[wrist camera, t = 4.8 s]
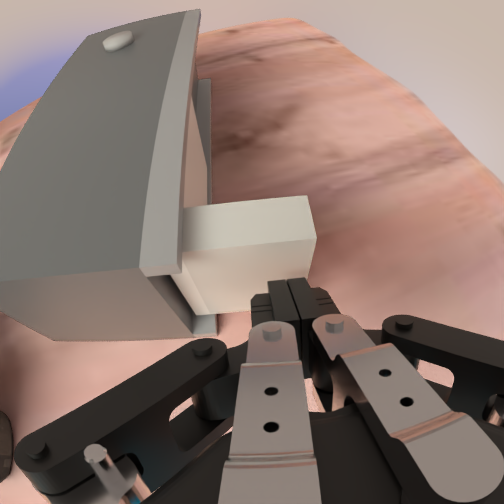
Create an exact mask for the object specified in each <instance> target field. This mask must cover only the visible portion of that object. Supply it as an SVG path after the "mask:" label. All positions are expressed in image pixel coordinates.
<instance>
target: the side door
mask: <svg viewBox="0 0 504 504" xmlns="http://www.w3.org/2000/svg"><path fill="white" fill-rule="evenodd" d="M316 240H317V236H316V232H315V227H314V223H313V218H312V214H311V210H310V206H309V202H308V197H307V195H304V196H292V197H281V198H270V199H260V200H250V201H240V202H231V203H222V204H213V205H207V165H206V161H205V156H204V152H203V147H202V143H201V138H200V134H199V129H198V125H197V120H196V115H195V111H194V106H193V101H192V97H191V103H190V114H189V125H188V138H187V152H186V168H185V186H184V208H183V238H182V273H180V274H170V275H171V277H172V278H173V280H174V282H175V283H176V285H177V286H178V288H179V289H180V291H181V293H182V294H183V296H184V297H185V299H186V300H187V302H188V303H189V305H190V306H191V308H192V310H193V311H194V313H195V314H196V315H208V314H220V313H231V312H242V311H251V302H250V300H251V299H252V298H253V296H254V295H255V294H262V293H268V286H267V281H273V280H282V279H286V280H287V279H291V278H301V277H305V278H306V280H307V279H308V275H309V270H310V266H311V262H312V258H313V254H314V249H315V245H316Z"/></svg>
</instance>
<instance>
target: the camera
mask: <svg viewBox="0 0 504 504" xmlns="http://www.w3.org/2000/svg"><path fill="white" fill-rule="evenodd" d="M12 454H13V436H12V429H11V425H10V421H9V419H8V417H7V416H6V415H5V414H4V413H3V412H2V411H0V483H1V482H2V481H3V480H4V479H6V478H7V476H8V474H9V472H10V466H11V460H12Z"/></svg>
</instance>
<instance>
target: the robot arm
mask: <svg viewBox="0 0 504 504" xmlns="http://www.w3.org/2000/svg"><path fill="white" fill-rule="evenodd" d="M267 286H268V293H262V294H255V295H254V296H253V298H252V299H251V300H250V302H251V320H252V329H251V330H250V333H249V340H248V341H246V342H245V343H243V344H241V345H239V346H236V347H232V348H229V349H227V347H226V345H225V343H224V342H222V341H220V340H218V339H213V338H203V339H197V340H194V341H191V342H189V343H187V344H185V345H184V346H182V347H181V348H179V349H177V350H176V351H174V352H172V353H171V354H169V355H167V356H166V357H164V358H163V359H161V360H159V361H158V362H156V363H154V364H153V365H151V366H149V367H148V368H146V369H144V370H143V371H141V372H139V373H137V374H136V375H134V376H132V377H131V378H129V379H127V380H126V381H124V382H122V383H121V384H119V385H117V386H115V387H114V388H112V389H110V390H108V391H107V392H105V393H103V394H101V395H100V396H98V397H96V398H94V399H93V400H91V401H89V402H87V403H86V404H84V405H82V406H80V407H79V408H77V409H75V410H73V411H71V412H70V413H68V414H66V415H64V416H62V417H60V418H59V419H57V420H55V421H53V422H51V423H49V424H48V425H46V426H44V427H42V428H40V429H38V430H36V431H35V432H33V433H31V434H29V435H27V436H26V437H24V438H23V439H22V440H21V441H20V442H19V443H18V444H17V446H16V448H15V451H14V460H15V462H16V464H17V466H18V467H19V468H20V469H21V471H22V472H23V473H24V474H25V475H26V477H27V478H28V479H29V480H30V481H31V483H32V485H33V487H34V488H35V489H36V490H37V491H38V493H39V494H40V495H41V496H42V497H43V498H44V499H45V500H46V501H47V502H48V503H49V504H504V341H502V340H499V339H495V338H491V337H487V336H484V335H480V334H476V333H472V332H469V331H465V330H461V329H458V328H454V327H450V326H447V325H443V324H439V323H436V322H432V321H429V320H425V319H421V318H418V317H414V316H410V315H394V316H391V317H388V318H387V319H385V320H384V321H383V324H382V330H364V329H362V328H361V327H360V326H359V324H358V323H357V322H356V321H355V320H354V319H353V318H351V317H349V316H347V315H342V314H341V313H340V312H339V310H338V308H337V307H336V305H335V303H334V302H333V300H332V299H331V297H330V295H329V294H328V292H327V291H325V290H323V289H321V288H320V287H316V288H310V286H309V284H308V282H307V280H306V278H305V277H301V278H291V279H287V280H286V279H282V280H273V281H267ZM420 359H421V360H424V361H427V362H430V363H433V364H436V365H439V366H442V367H445V368H447V369H449V370H450V371H451V372H452V373H453V375H454V383H453V386H452V388H450V387H447V386H444V385H441V384H438V383H435V382H432V381H429V380H426V379H424V378H423V377H422V376H421V375H420V374H419V373H418V372H417V370H418V365H419V360H420ZM307 378H312V381H313V396H314V399H315V401H316V403H317V406H318V408H319V411H320V412H308V405H307V397H306V390H305V383H304V379H307ZM496 394H497V395H496ZM190 397H191V398H192V402H193V404H192V405H191V406H190V407H188V408H187V409H186V410H184V411H183V412H182V413H180V414H179V415H178V416H176V417H175V418H173V419H172V420H171V421H169V418H170V415H171V413H172V411H173V410H174V409H175V408H176V407H177V406H179V405H180V404H182V403H183V402H184V401H186V400H187V399H188V398H190ZM232 426H233V430H232V431H231V432H229V433H227V434H225V435H223V434H224V433H226V432H227V431H228V430H229V429H230V428H231V427H232ZM222 435H223V436H222ZM160 486H161V487H160ZM159 487H160V488H159ZM156 489H157V490H156ZM155 490H156V491H155ZM154 491H155V492H154ZM152 492H153V493H152ZM151 493H152V494H151Z"/></svg>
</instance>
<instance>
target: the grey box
mask: <svg viewBox="0 0 504 504" xmlns="http://www.w3.org/2000/svg"><path fill="white" fill-rule="evenodd" d="M200 19H201V11H200V9H196V10H189V11H184V12H178V13H172V14H167V15H162V16H158V17H153V18H149V19H144V20H141V21H136V22H132V23H129V24H125V25H121V26H118V27H114V28H111V29H108V30H104V31H101V32H98V33H95V34H92V35H89V36H87V37H86V39H85V40H84V41H83V42H82V43H81V45H80V46H79V47H78V48H77V50H76V51H75V52H74V53H73V55H72V56H71V57H70V58H69V60H68V61H67V62H66V64H65V65H64V66H63V68H62V69H61V70H60V72H59V73H58V74H57V76H56V77H55V79H54V80H53V81H52V83H51V84H50V86H49V87H48V89H47V90H46V92H45V93H44V95H43V96H42V98H41V99H40V101H39V102H38V104H37V106H36V107H35V109H34V110H33V112H32V114H31V115H30V117H29V119H28V120H27V122H26V124H25V125H24V127H23V129H22V131H21V132H20V134H19V136H18V138H17V139H16V141H15V143H14V145H13V147H12V149H11V151H10V153H9V155H8V157H7V159H6V161H5V163H4V165H3V167H2V169H1V171H0V311H1V312H3V313H4V314H6V315H8V316H9V317H11V318H13V319H15V320H16V321H18V322H20V323H22V324H23V325H25V326H27V327H29V328H31V329H32V330H34V331H36V332H38V333H40V334H42V335H44V336H46V337H48V338H50V339H51V340H53V341H134V340H160V339H180V338H196V337H210V336H218V331H217V314H208V315H196V314H195V313H194V311H193V310H192V308H191V306H190V305H189V303H188V302H187V300H186V299H185V297H184V296H183V294H182V293H181V291H180V289H179V288H178V286H177V285H176V283H175V282H174V280H173V278H172V277H171V275H170V274H180V273H182V238H183V208H184V186H185V168H186V152H187V138H188V125H189V114H190V103H191V97H192V101H193V106H194V111H195V115H196V120H197V125H198V129H199V134H200V138H201V143H202V147H203V152H204V156H205V161H206V165H207V205H212V155H211V86H212V83H211V78H208V79H201V80H198V75H197V69H196V64H195V56H196V48H197V41H198V33H199V26H200Z"/></svg>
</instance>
